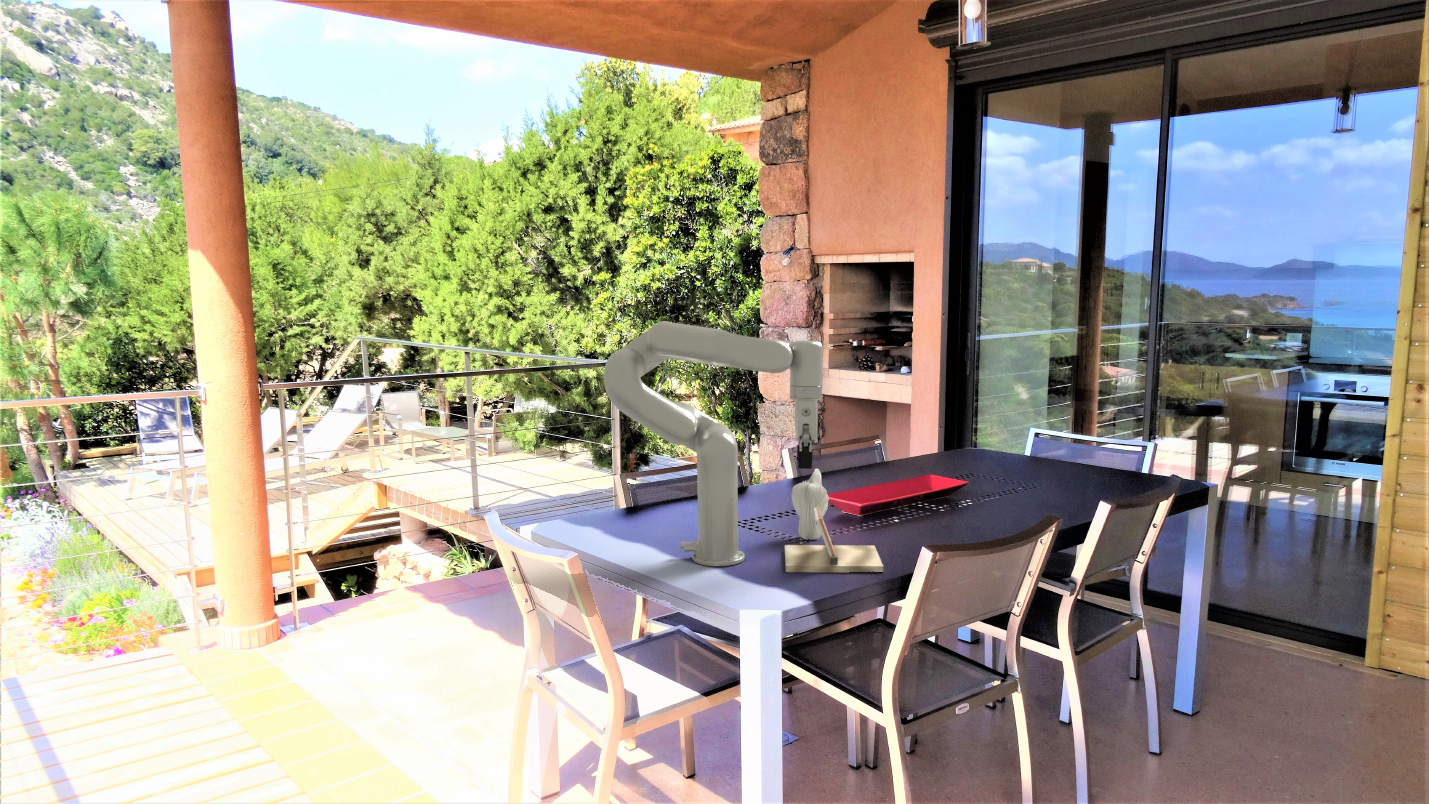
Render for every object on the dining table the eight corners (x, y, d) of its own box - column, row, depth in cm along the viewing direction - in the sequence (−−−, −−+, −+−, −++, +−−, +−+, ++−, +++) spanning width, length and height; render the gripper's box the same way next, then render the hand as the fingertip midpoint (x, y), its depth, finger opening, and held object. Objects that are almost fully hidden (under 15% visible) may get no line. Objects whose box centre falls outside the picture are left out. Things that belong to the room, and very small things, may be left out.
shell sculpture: (801, 544, 219) (801, 474, 217) (790, 535, 227) (790, 468, 225) (832, 541, 222) (832, 472, 220) (819, 533, 230) (819, 466, 228)
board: (785, 571, 197) (785, 558, 196) (784, 550, 214) (784, 538, 213) (883, 572, 195) (883, 559, 195) (874, 551, 212) (874, 539, 212)
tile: (816, 520, 197) (821, 518, 197) (813, 507, 209) (818, 506, 209) (832, 562, 198) (837, 560, 198) (828, 547, 210) (833, 546, 210)
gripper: (823, 397, 194) (822, 471, 196) (819, 389, 212) (818, 458, 213) (790, 396, 195) (789, 471, 197) (789, 389, 212) (787, 458, 214)
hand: (804, 464), depth 205 cm, fingers open, 9 cm apart
